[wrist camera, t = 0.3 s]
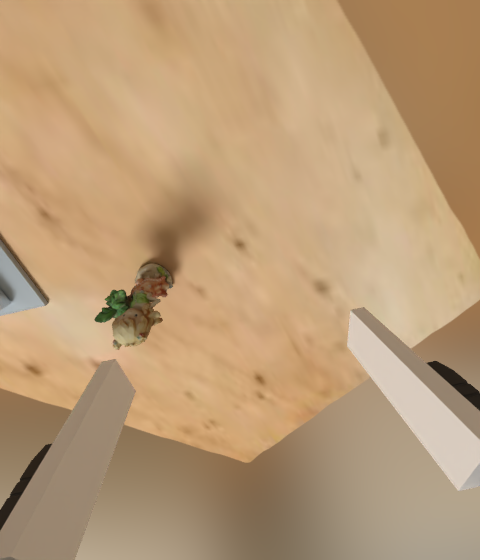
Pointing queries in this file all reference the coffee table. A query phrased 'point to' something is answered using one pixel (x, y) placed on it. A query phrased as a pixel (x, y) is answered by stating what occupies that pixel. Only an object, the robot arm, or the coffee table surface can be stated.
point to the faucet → (4, 300)
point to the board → (17, 285)
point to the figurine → (136, 306)
